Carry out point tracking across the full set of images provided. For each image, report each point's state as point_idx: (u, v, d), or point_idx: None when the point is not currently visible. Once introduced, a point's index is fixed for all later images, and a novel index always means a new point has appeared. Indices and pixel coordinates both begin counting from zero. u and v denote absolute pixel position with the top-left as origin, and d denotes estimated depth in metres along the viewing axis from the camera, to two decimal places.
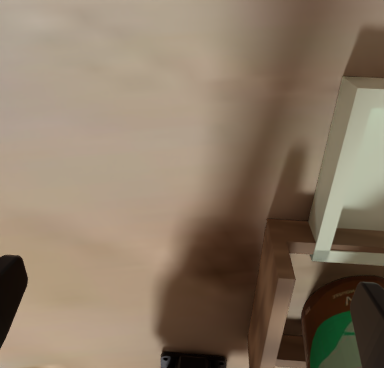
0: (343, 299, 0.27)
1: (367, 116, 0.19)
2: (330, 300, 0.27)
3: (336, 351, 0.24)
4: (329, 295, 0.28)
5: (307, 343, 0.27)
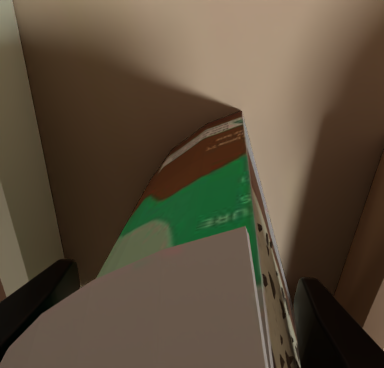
0: None
1: None
2: None
3: None
4: None
5: None
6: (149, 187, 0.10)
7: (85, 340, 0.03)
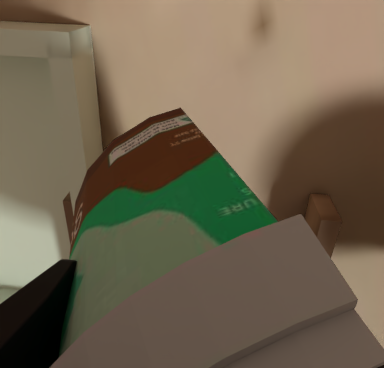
0: None
1: None
2: None
3: None
4: None
5: None
6: (105, 178, 0.11)
7: (207, 304, 0.05)
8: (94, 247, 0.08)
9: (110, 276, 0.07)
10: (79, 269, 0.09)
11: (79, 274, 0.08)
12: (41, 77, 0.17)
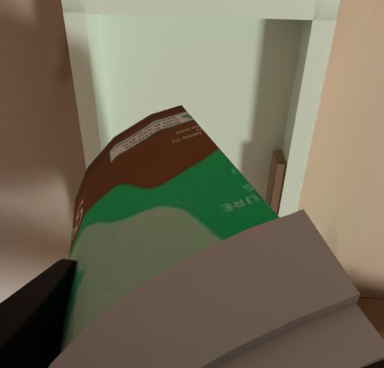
0: None
1: None
2: None
3: None
4: None
5: None
6: (106, 174, 0.11)
7: (210, 299, 0.05)
8: (95, 243, 0.08)
9: (112, 271, 0.07)
10: (80, 265, 0.09)
11: (80, 270, 0.08)
12: (269, 45, 0.17)
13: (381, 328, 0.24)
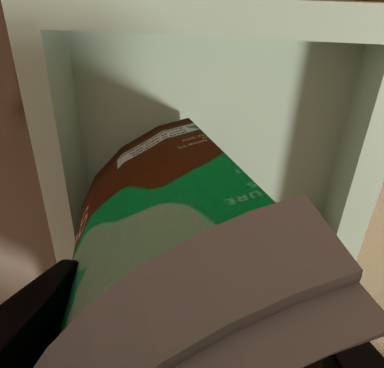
0: None
1: None
2: None
3: None
4: None
5: None
6: (112, 180, 0.11)
7: (210, 275, 0.05)
8: (98, 242, 0.08)
9: (112, 265, 0.07)
10: (82, 264, 0.09)
11: (82, 268, 0.08)
12: (313, 76, 0.12)
13: None
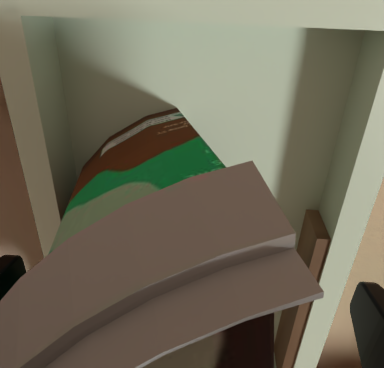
0: None
1: None
2: None
3: None
4: None
5: None
6: (94, 167, 0.11)
7: (138, 240, 0.04)
8: (67, 224, 0.08)
9: None
10: (51, 246, 0.08)
11: (50, 250, 0.08)
12: (311, 66, 0.12)
13: None
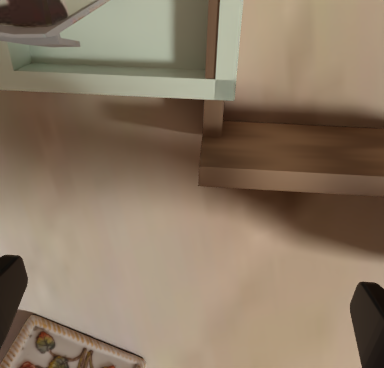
0: None
1: (23, 72, 0.17)
2: None
3: None
4: None
5: None
6: None
7: None
8: None
9: None
10: None
11: None
12: None
13: (372, 146, 0.18)
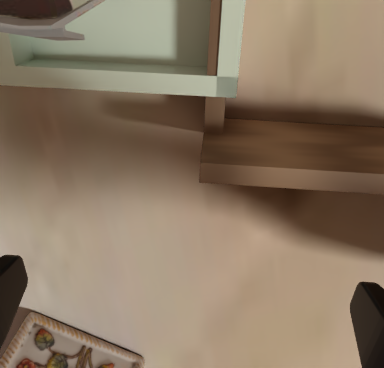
0: None
1: (25, 68, 0.17)
2: None
3: None
4: None
5: None
6: None
7: None
8: None
9: None
10: None
11: None
12: None
13: (374, 144, 0.18)
